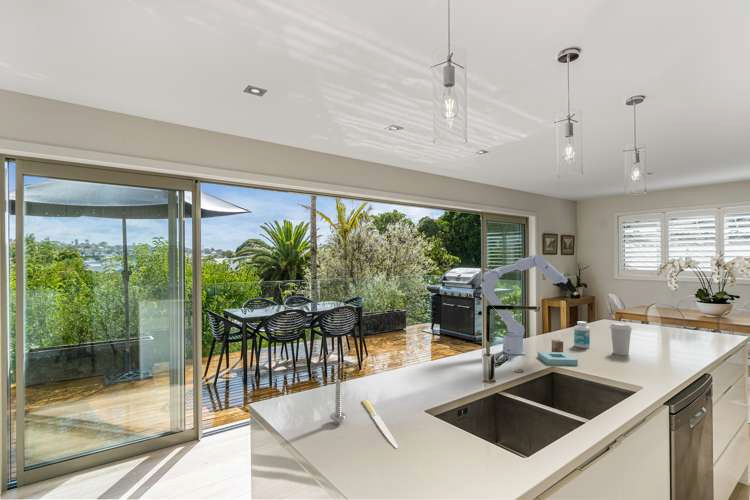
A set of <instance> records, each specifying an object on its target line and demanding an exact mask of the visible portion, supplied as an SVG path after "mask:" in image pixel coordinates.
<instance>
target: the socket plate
mask: <svg viewBox="0 0 750 500" xmlns="http://www.w3.org/2000/svg"><path fill="white" fill-rule="evenodd" d="M537 358H539V359H540V360H541V361H542V362H544V363H545V364H546V365H550V366H578V360H579V359H578V358H575V357H574V356H572V355H570V354H568V353H567V352H565V351H563V352H552V351H537Z"/></svg>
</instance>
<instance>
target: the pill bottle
mask: <svg viewBox="0 0 750 500" xmlns="http://www.w3.org/2000/svg"><path fill="white" fill-rule="evenodd" d="M576 323H577V325H574V328H573V331H574V332H573V345H574V346H575V347H576V348H580V349H589V348H590V347H591V346H590V345H591V344H590V339H591V337H590V336H591V335H590V334H591V329H590V327H589V326H588V322H587V321H583V320H580V321H576Z"/></svg>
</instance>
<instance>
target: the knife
mask: <svg viewBox="0 0 750 500" xmlns="http://www.w3.org/2000/svg"><path fill="white" fill-rule="evenodd" d="M361 401H362V404H363V405H364V407H365V408H366V410H367V411H368V413H369V415H370V416H371V417H372V419H373V420H374V422H375V424H376V425H377V427H378V428H379V430H380V431H381V432H382V434H383V436H385V438H386V440H387V441H388V442H389V443H390V444H391V445H392V446H393V448H395V449H398V447H399V444H397V441H396V440H395V437H394V436H393V435H392V433H391V432H390V430H389V429H388V427H387V425H386V424H385V422H384V421H383V420H382V417H381V416H380V415H379V414H377V412H376V409H375V408H374V407H373V406H372V402H371V401H370V400H368V399H366V398H364V399H362V400H361Z"/></svg>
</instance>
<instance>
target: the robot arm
mask: <svg viewBox="0 0 750 500" xmlns="http://www.w3.org/2000/svg"><path fill="white" fill-rule="evenodd" d="M535 267H536V269H537V270H539V271H540V272H541V273H542V274H543V275H544V276H545V277H546V278H547V279H549V280H550V281H551V282H552V286H554V287H555V286H556V287H558V288H559V289H561V290H563V291H564V292H568V291H569V292H570V293H573V294H574V293H576V292H577V288H576V287H575V285H574V284H573V283H572V279H571V278H569V277H567V278H566V277H565V276H564V275H565V272H561V273H560V272H559V271H558V270H557V269H556V268H555V267H554V266H552V265H551V264H550V262H548V261H546V258H545V257H544V256H542V255H539V254H532V255H529V256H528V257H524V258H523V257H521V258H518V259H517V260H516V261H515V263H512V264H508V265H503V266H500V267H496V268H493V269H489V271H484V272H483V273H482V274H481V275H482V276H481V278H480V279H481V280H480V282H481V289H482V294H483V295H484V296H485V298H486V299H487V301H488V302H489V304H491V306H492V305H504V303H503V302H502V301H501V299H500V298H499V297H498V295H497V294H496V293H495V288H496V285H497V283H498V282H499V279H501V278H502V276H503V275H504V274H506V273H507V274H508V273H510V272H514V271H516V270H517V271H519V272H522V271H526V270H530V269H532V268H535ZM494 311H496V313H498V315H499V316H500V317H501V319H502V321H503V323H504V324H505V325H506V329H507V331H508V332H507V334H506V335H505V334H504V335H503V336H502V352H504V353H505V354H506V353H507V354H506V355H518V356H519V355H520V356H521V355H522V356H523V355H527V353H526V352H524V334H525V330H526V329H525V326H524V325H523V324H521V323H519V322H518V320H516V318H515V317H513V315H512V313H510V311H509V310H508V309H507V310H496V309H495V308H494Z"/></svg>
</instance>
